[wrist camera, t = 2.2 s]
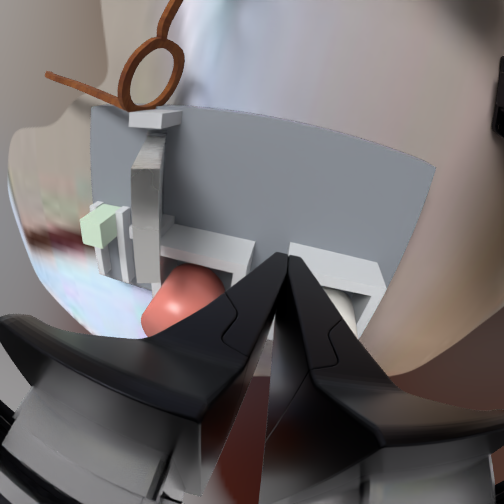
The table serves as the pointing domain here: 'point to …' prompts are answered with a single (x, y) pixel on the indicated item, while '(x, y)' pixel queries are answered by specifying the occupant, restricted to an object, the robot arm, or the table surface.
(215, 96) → the table surface
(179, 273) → the button red
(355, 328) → the button white
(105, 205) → the slider knob
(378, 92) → the table surface
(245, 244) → the panel
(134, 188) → the grey rectangular slab
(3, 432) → the robot arm
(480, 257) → the table surface
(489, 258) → the table surface
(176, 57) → the glasses
